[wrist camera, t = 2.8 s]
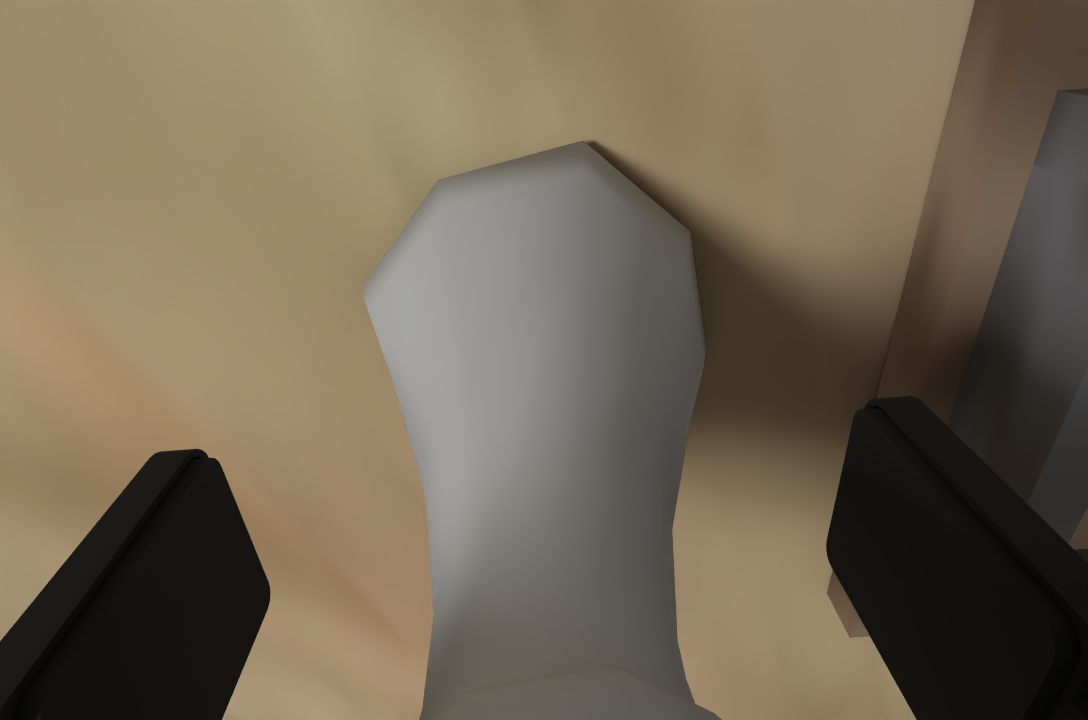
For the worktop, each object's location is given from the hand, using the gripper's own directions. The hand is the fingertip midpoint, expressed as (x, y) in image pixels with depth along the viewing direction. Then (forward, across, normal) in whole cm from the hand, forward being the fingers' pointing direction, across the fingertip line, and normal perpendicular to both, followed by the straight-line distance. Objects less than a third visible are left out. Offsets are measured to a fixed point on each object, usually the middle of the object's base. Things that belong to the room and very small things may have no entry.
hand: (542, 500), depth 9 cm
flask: (+6, 0, -1) cm, 6 cm away
